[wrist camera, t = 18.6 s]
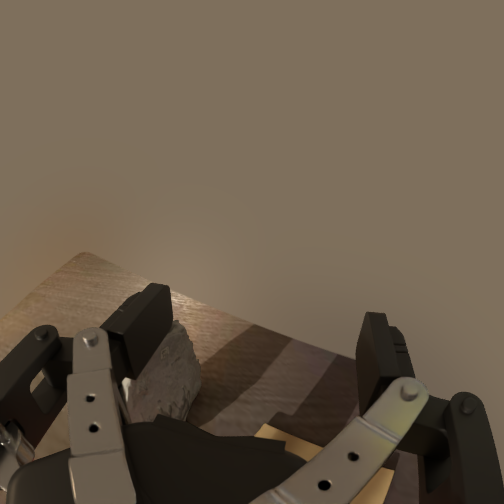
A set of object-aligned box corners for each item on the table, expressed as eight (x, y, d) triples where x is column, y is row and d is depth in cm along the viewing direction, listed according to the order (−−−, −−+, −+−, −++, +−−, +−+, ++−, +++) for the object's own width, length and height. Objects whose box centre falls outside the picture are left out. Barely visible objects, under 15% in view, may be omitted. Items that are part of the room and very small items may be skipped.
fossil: (138, 501, 21) (83, 419, 15) (90, 467, 23) (30, 373, 17) (219, 397, 36) (216, 296, 30) (175, 378, 38) (162, 279, 32)
